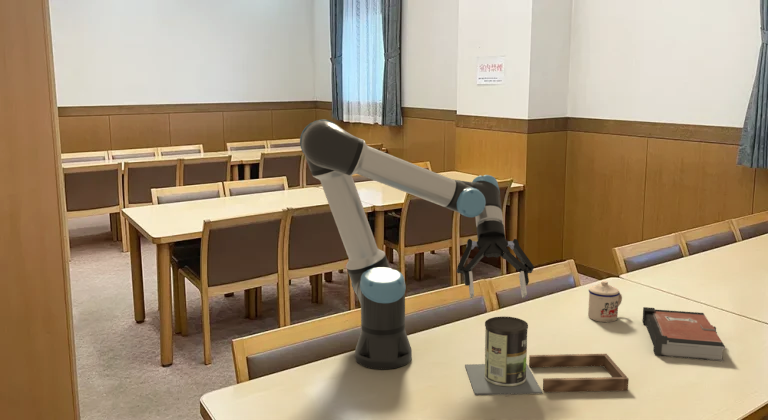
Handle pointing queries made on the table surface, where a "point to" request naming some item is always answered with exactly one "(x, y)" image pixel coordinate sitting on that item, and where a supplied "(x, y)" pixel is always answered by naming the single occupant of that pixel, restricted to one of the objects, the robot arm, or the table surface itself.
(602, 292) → the teacup with lid
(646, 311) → the book
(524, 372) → the coffee can
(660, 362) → the table surface
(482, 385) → the rubber mat
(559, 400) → the table surface
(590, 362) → the frame
